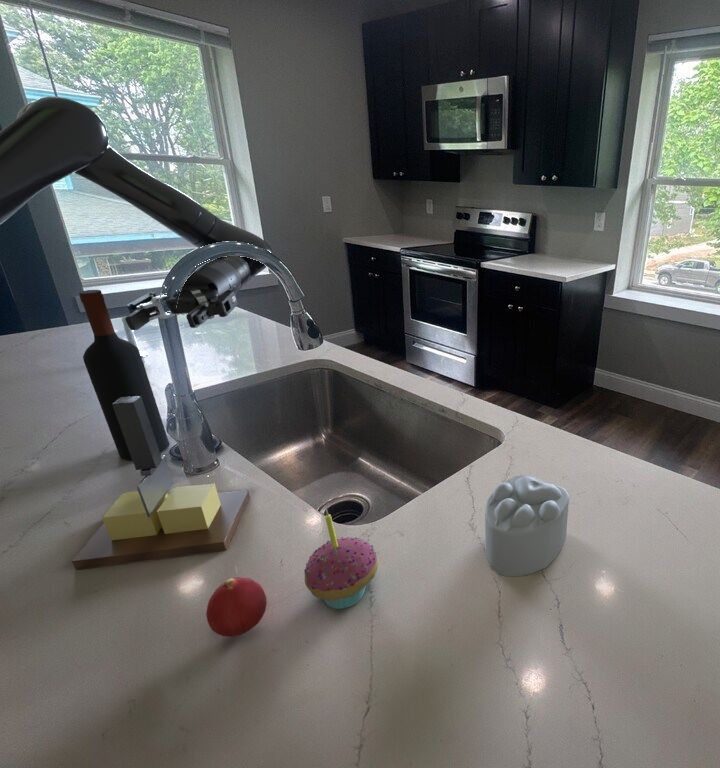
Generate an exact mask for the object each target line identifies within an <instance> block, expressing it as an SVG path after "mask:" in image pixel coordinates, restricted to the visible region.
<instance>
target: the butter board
mask: <svg viewBox="0 0 720 768" xmlns="http://www.w3.org/2000/svg"><path fill="white" fill-rule="evenodd" d="M217 493H218V496H219V500H220V503H221V505H220V507H219V509H218V511H217V513H216V515H215V517H214V519H213V521H212V522H211V524H210V526H209V528H208V529H202V530H194V531H186V532H178V533H169V534H165V533H164V530H163V527H162V528H161V529H160V531H159V532H158V534H157V535H153V536H145V537H136V538H128V539H120V540H111V538H110V535H109V533H108V531H107V528H106V526H105V524H104V522H102V524H101V526H99V527H98V529H97V530H96V531H95V532H94V534H92V536H91V538H89V540H88V541H87V542H86V543H85V544H84V546H83V547H82V548H81V549H80V550H79V552H78V553H77V554H76V555H75V556H74V558H73V559H72V560H71V563H72V566H73V567H74V569H75V571H77V570H84V569H85V570H86V569H93V568H94V569H95V568H100V567H107V566H115V565H116V566H117V565H123V564H131V563H139V562H147V561H153V560H161V559H162V560H163V559H169V558H177V557H184V556H185V557H186V556H193V555H200V554H207V553H215V552H216V553H217V552H221V551H223V552H224V551H227V549H228V548H229V546H230V543H231V541H232V538H233V536H234V535H235V532H236V530H237V527H238V525H239V523H240V521H241V518H242V516H243V514H244V512H245V510H246V507H247V506H248V503H249V501H250V498H251V495H250V491H249V489H244V490H234V491H225V492H224V491H223V492H217Z"/></svg>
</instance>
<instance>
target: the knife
mask: <svg viewBox="0 0 720 768" xmlns="http://www.w3.org/2000/svg"><path fill="white" fill-rule="evenodd" d="M112 406H113V408H114V411H115V414H116V416H117V419H118V422H119V425H120V427H121V430H122V433H123V436H124V438H125V441H126V444H127V447H128V449H129V452H130V455H131V458H132V460H133V461H132V463H133V466H134V468H135V471H139V473H140V476H141V477H143V478H142V479H141V481H140V482H138V484H137V485H136V491H138V492H139V495H140V498H141V500H142V503H143V506H144V508H145V511H146V514H147V516H148V517H150V516H151V515H152V513H153V512H154V511H155V509H156V508H157V506H158V505H159V504H160V502H161V501H162V499H163V498H164V497H165V495H166V494H167V493H169V491H170V490H171V488H172V487H173V485H174V484H175V483H174V479H173V477H172V474H171V471H170V468H169V464H168V461H167V458H166V456H165V455H163V454H162V455H161V453H160V452H159V449H158V446H157V443H156V440H155V437H154V434H153V431H152V428H151V425H150V422H149V419H148V416H147V413H146V410H145V407H144V404H143V401H142V398H141V396H134V397H120V398H119V399H118V400H116V401H115V402H114V403H113V404H112Z"/></svg>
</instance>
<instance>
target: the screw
mask: <svg viewBox="0 0 720 768" xmlns="http://www.w3.org/2000/svg"><path fill="white" fill-rule="evenodd" d="M125 317H126V316H125V315H124V316H122V317H121V321H122V325H123V330H124V332H125V334H124V335H125V336H126V339H127V341H129V342H131V343H132V344H133V345H135V346H136V347H137V348H138V350H139V351H140V347H139V345H138V341H137V339H136V338H137V337H136V335H135V332H134V330H131V329H130V328H129V326H128V324H127V322H126V320H125ZM140 354H141V357H142V360H143V363H146V360H145V358H147V357H148V356H149V353H148V352H146V351H140Z"/></svg>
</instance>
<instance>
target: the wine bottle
mask: <svg viewBox="0 0 720 768" xmlns="http://www.w3.org/2000/svg"><path fill="white" fill-rule="evenodd" d="M78 294H79V299H80V303H81V304H82V305H83V308H84V311H85V314H86V316H87V320H88V322H89V325H90V328H91V331H92V333H93V342H92V343H91V344H89V346H87V348H86V349H85V350H84V353H83V356H82V359H83V363H84V366H85V368H86V370H87V374H88V376H89V379H90V382H91V384H92V387H93V390H94V392H95V395H96V397H97V400H98V402H99V405H100V408H101V410H102V414H103V416H104V418H105V419H104V420H105V421H106V424H107V427H108V429H109V432H110V435H111V437H112V440H113V443H114V445H115V448H116V450H117V453H118V456H119V457H120V459H121V460H124V461H128V462H129V461H130V462H133V460H132V458H131V455H130V452H129V449H128V447H127V444H126V441H125V438H124V436H123V433H122V430H121V427H120V425H119V422H118V419H117V416H116V414H115V411H114V408H113V406H112V404H113V403H114V402H115V401H116V400H118V399H119V398H120V397H134V396H141V398H142V401H143V404H144V407H145V410H146V413H147V416H148V419H149V422H150V425H151V428H152V431H153V434H154V437H155V440H156V443H157V446H158V449H159V452H160V454H161V453H163V452H164V451H166V450H167V449H168V447H169V446H170V441H169V438H168V435H167V433H166V429H165V426H164V423H163V420H162V416H161V414H160V413H161V412H160V410H159V407H158V404H157V401H156V398H155V395H154V391H153V389H152V385H151V382H150V379H149V376H148V373H147V370H146V367H145V364H144V363H145V362H144V363H143V360H142V357H141V354H140V352H141V351H140V349H139V350H138V348H139V347H138V348H137V347H136V346H135V345H133V344H132V343H131V342H129V341H128V340H127V339H124V338H121V337H120V336H118V335H117V333H116V330H115V328H114V325H113V322H112V319H111V315H110V313H109V311H108V308H107V304H106V301H105V297H104V294H103V292H102V290H101V289H87V290H81V291H78Z"/></svg>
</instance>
